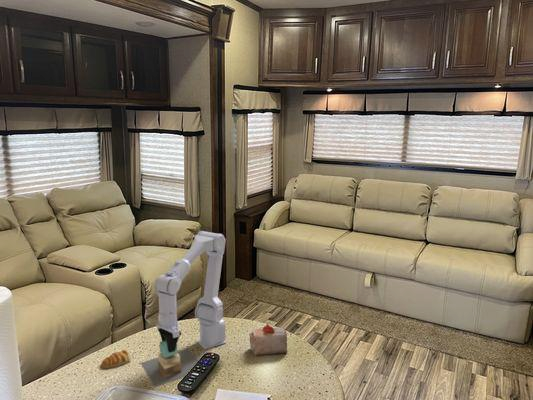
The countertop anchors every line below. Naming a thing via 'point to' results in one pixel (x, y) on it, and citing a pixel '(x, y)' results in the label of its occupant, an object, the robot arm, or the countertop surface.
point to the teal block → (166, 349)
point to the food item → (268, 340)
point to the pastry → (116, 359)
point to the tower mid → (169, 360)
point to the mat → (186, 365)
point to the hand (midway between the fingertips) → (169, 348)
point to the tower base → (169, 370)
